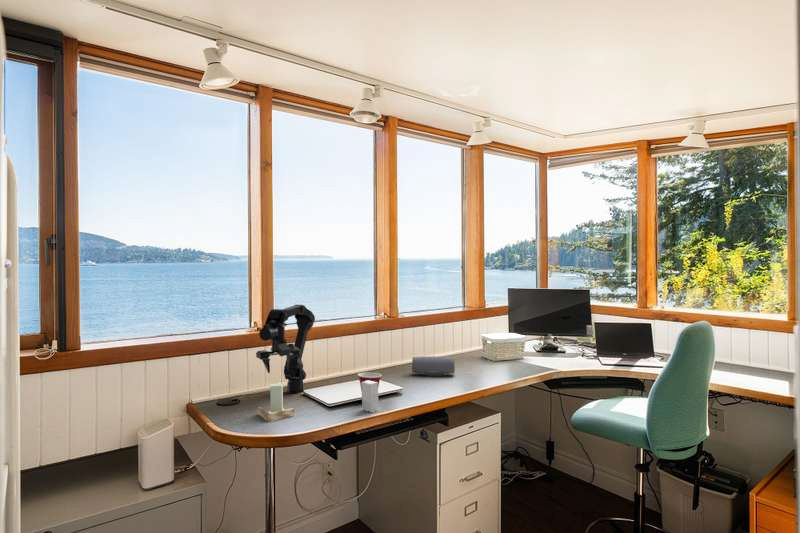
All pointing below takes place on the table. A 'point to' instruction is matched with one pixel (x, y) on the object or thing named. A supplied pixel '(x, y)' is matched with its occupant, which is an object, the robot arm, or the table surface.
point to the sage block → (276, 397)
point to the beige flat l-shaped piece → (275, 414)
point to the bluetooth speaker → (433, 365)
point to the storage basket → (503, 346)
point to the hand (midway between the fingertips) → (278, 371)
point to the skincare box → (370, 396)
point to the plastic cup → (369, 377)
